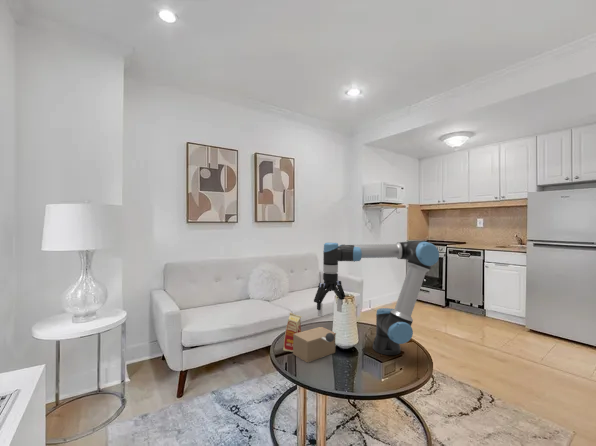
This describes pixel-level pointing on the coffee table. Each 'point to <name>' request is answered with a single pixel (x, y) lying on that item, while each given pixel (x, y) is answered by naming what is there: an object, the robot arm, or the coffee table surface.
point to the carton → (312, 349)
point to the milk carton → (291, 331)
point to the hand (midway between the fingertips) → (329, 313)
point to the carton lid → (316, 335)
